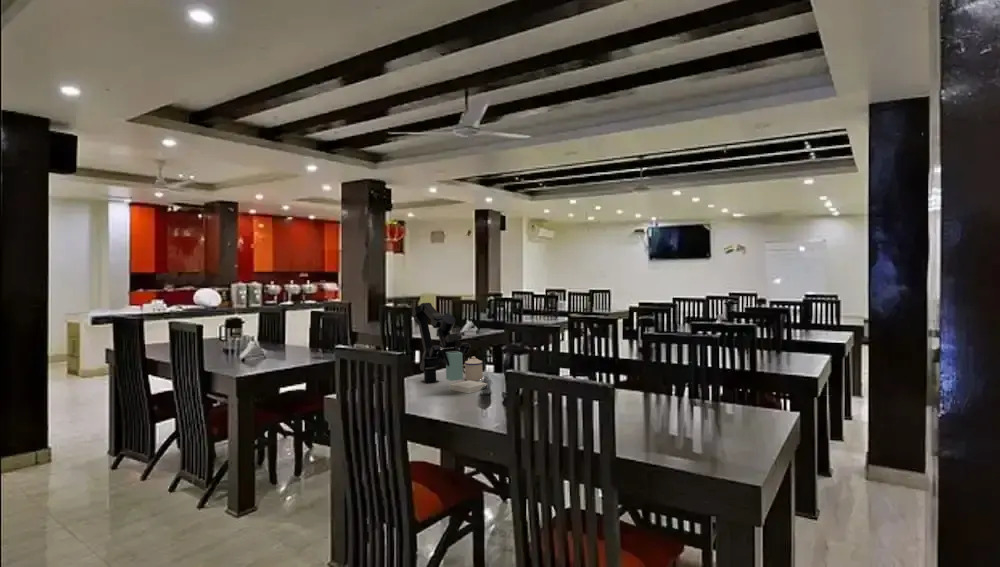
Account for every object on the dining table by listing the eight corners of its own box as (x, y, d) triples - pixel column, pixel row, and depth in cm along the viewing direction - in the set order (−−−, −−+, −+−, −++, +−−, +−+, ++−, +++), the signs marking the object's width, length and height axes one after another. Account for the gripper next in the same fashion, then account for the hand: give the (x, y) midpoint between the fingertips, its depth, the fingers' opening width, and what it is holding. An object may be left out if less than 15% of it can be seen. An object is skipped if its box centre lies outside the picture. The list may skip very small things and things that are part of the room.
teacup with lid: (486, 378, 301) (486, 356, 301) (476, 382, 294) (475, 358, 293) (467, 376, 308) (467, 354, 307) (456, 379, 300) (456, 357, 300)
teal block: (446, 378, 270) (445, 352, 269) (458, 377, 273) (457, 351, 272) (450, 380, 265) (450, 354, 265) (462, 379, 268) (462, 352, 268)
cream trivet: (450, 389, 278) (450, 384, 278) (469, 385, 287) (469, 380, 286) (468, 393, 270) (468, 387, 270) (487, 388, 278) (487, 383, 278)
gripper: (430, 328, 267) (440, 356, 258) (468, 325, 276) (479, 352, 266) (425, 343, 274) (434, 371, 265) (462, 340, 283) (472, 366, 274)
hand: (455, 365), depth 268 cm, fingers closed on teal block, 6 cm apart
